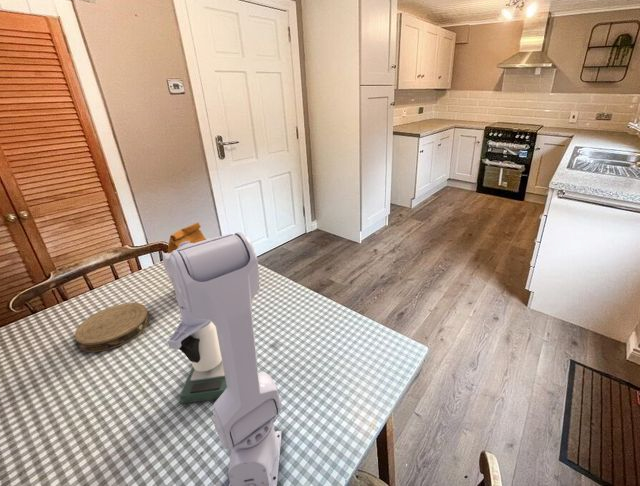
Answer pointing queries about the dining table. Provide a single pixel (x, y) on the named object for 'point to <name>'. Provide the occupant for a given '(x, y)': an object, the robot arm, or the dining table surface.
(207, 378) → the scale
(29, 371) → the dining table surface
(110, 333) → the tan flat round disc
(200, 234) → the coffee package
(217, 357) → the can
